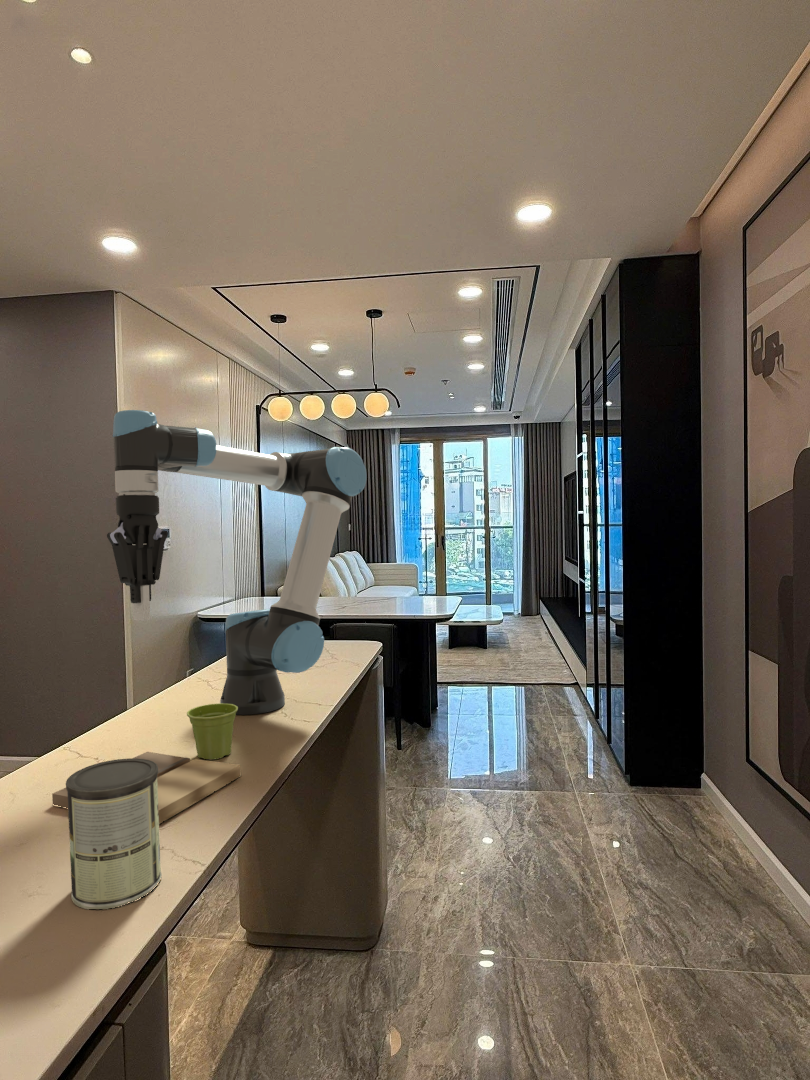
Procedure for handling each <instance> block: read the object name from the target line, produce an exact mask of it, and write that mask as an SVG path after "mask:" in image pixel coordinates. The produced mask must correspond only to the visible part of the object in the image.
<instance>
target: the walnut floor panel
mask: <svg viewBox="0 0 810 1080" xmlns="http://www.w3.org/2000/svg"><path fill="white" fill-rule="evenodd" d="M132 759H145V760H150V761H153V762H154V763H156V764H157V766H158V775H157V778H158V777H160V776H162V775H164V774H166V773H168V772H170V771H172V770H174V769H176V768H178V767H180V766H182V765H184V764H186V763H188V762H190V761H191V759H190V757H183V756H177V755H171V754H164V753H159V752H158V753H157V752H151V751H146V752H143V753H141V754H139V755H137V756H134V757H132ZM51 795H52V800H51V801H52V805H53V804H54V805H58V806H61V807H66V808H68V794H67V789H66V787H64V788H62V789H59V790H57V791H55V792H53V793H52V794H51Z"/></svg>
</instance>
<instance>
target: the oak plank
mask: <svg viewBox="0 0 810 1080" xmlns="http://www.w3.org/2000/svg"><path fill="white" fill-rule="evenodd" d="M241 776H242V772H241V764H237V763H230V762H219V761H214V760H213V761H212V760H205V759H197V758H195V759H192V760H190V762H188V763H186V764H184V765H182V766H180V767H178V768H176V769H174V770H172V771H170V772H168V773H166V774H164V775H162V776H160V777H158V778H157V787H158V811H159V825H160V824H162V823H164V822H165V821H167V820H168V819H170V818H172V817H174V816H175V815H177V814H179V813H181V812H182V811H184V810H186V809H188V808H189V807H190V806H192V805H194V804H195V803H198V802H199V801H202V800H203V799H205V798H207V796H209V795H211V794H213V793H215V792H216V791H218V790H220V789H221V788H223V787H225V786H227V785H228V784H230V783H232V782H233V781H235V780H237V779H238V778H240V777H241ZM231 781H232V782H231ZM226 784H227V785H226ZM214 791H215V792H214ZM163 821H164V822H163Z"/></svg>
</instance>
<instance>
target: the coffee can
mask: <svg viewBox="0 0 810 1080" xmlns="http://www.w3.org/2000/svg"><path fill="white" fill-rule="evenodd" d="M132 758H133V757H132ZM132 758H130V757H129V758H118V759H113V760H107V761H103V762H98V763H94V764H91V765H88V766H86V767H83V768H81V769H79V770H77V771H75V772H74V773H73V774H71V775H69V777H68V778H67V779H66V781H65V788H66V789H67V794H68V809H67V813H68V815H67V816H68V831H69V832H68V833H69V835H68V836H69V855H70V856H69V857H70V879H71V880H70V881H71V885H70V886H71V894H70V895H71V901H72V902H73V904H74V905H76V906H77V907H79V908H81V909H84V910H89V909H107V910H109V909H108V908H112V909H116V908H115V907H118V906H121V905H124V904H127V903H128V902H132V901H135V900H137V899H139V898H140V897H142V896H144V895H146V894H147V893H149V892H150V891H151V890H153V888H154V887H155V886H156V885H157V883H158V882H159V881H160V878H161V879H162V877H161V876H162V872H161V870H162V869H161V849H160V848H161V845H160V841H161V840H160V824H159V811H158V787H157V775H158V766H157V764H156V763H154V762H153V761H150V760H145V759H132ZM160 882H161V881H160ZM153 891H154V890H153ZM149 894H150V893H149ZM146 896H147V895H146ZM139 900H140V899H139ZM137 901H138V900H137ZM135 902H136V901H135ZM121 907H122V906H121ZM118 908H119V907H118Z"/></svg>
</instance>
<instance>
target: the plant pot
mask: <svg viewBox="0 0 810 1080" xmlns="http://www.w3.org/2000/svg"><path fill="white" fill-rule="evenodd" d="M237 710H238V707H237V706H236V705H233V704H223V703H220V702H219V703H209V704H203V705H199V706H196V707H193V708H191V709H189V710H188V711H187V712H186V716H187V717H188V718H189V722H190V724H191V727H192V731H193V736H194V737H193V738H194V742H195V748H196V754H197V757H198V758H199V759H203V760H205V759H213V760H219V759H218V758H220V759H223V757H224V756H229V755H230V754H231V752H232V745H233V744H232V742H233V733H234V732H233V731H234V723H235V718H236V715H237V714H236V712H237Z"/></svg>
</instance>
